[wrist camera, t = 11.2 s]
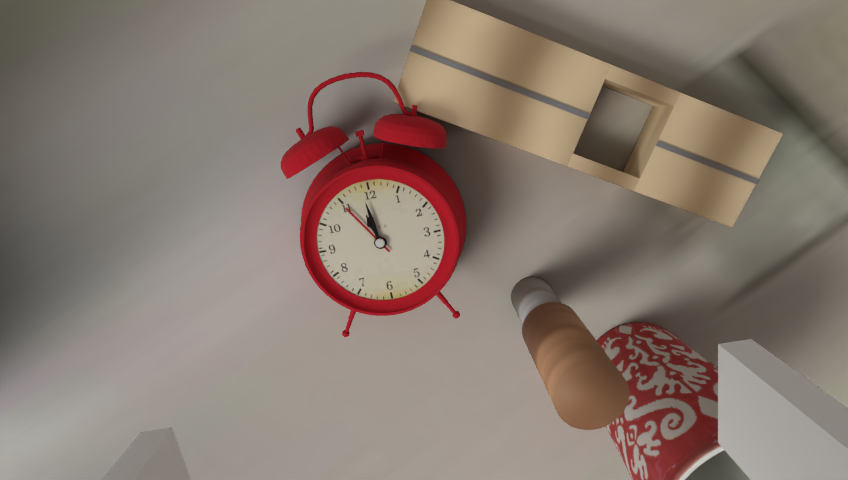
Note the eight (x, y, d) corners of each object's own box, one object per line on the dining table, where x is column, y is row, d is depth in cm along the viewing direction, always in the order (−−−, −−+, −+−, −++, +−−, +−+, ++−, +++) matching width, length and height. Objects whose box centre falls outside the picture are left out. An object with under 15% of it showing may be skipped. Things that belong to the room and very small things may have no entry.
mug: (555, 331, 35) (641, 470, 22) (680, 291, 34) (846, 409, 21) (596, 471, 38) (693, 663, 25) (711, 436, 38) (871, 614, 25)
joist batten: (394, 101, 30) (393, 101, 28) (427, 0, 29) (429, -9, 26) (708, 218, 33) (733, 227, 30) (754, 131, 31) (784, 133, 29)
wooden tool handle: (499, 310, 34) (542, 417, 23) (518, 266, 33) (573, 355, 22) (544, 324, 35) (609, 438, 23) (563, 281, 34) (642, 376, 22)
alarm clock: (321, 352, 31) (226, 122, 23) (332, 290, 36) (258, 86, 28) (486, 323, 30) (447, 77, 22) (472, 265, 36) (437, 50, 28)
